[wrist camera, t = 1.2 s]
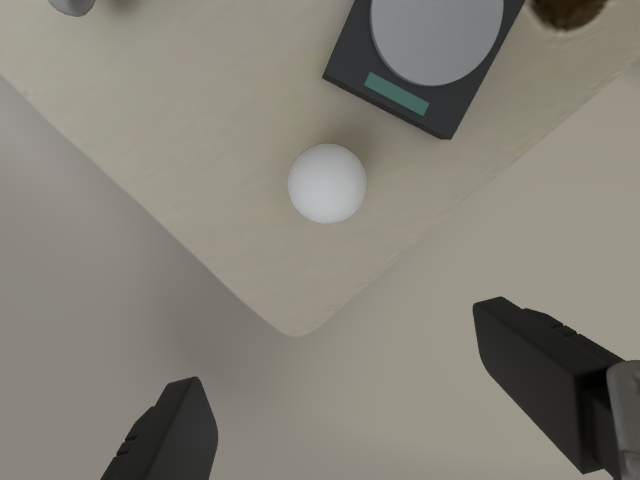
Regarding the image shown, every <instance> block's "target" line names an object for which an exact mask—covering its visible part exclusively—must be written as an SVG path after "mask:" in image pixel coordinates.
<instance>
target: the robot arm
mask: <svg viewBox="0 0 640 480" xmlns="http://www.w3.org/2000/svg"><path fill="white" fill-rule="evenodd" d="M473 316H474V322H475V329H476V336H477V342H478V347H479V353H480V357H481V360H482V362H483V365H484V367H485V368H486V370H487V371H488V373H489V374H490V376H491V377H492V378H493V379H494V380H495V381H496V382H497V383H498V384H499V385H500V386H501V387H502V388H503V389H504V390H505V392H506V393H507V394H508V395H509V396H510V397H511V398H512V399H513V400H514V401H515V402H516V403H517V404H518V405H519V407H520V408H521V409H522V410H523V411H524V412H525V413H526V414H527V415H528V416H529V417H530V418H531V419H532V421H533V422H534V423H535V424H536V425H537V426H538V427H539V428H540V429H541V430H542V431H543V432H544V433H545V435H546V436H548V438H549V439H550V440H551V441H552V442H553V443H554V444H555V445H556V446H557V447H558V449H559V450H560V451H561V452H562V453H563V454H564V455H565V456H566V457H567V458H568V459H569V460H570V461H571V462H572V464H574V466H575V467H576V468H577V469H578V470H579V471H580V472H581V473H582V474H586V473H590V472H594V471H597V470H600V469H605V470H606V471H607V472H608V473H609V474H610V475H611V476H612V477H613V480H640V360H631V361H625V360H623V359H622V358H620V357H618V356H617V355H615V354H613V353H611V352H610V351H608V350H607V349H605V348H603V347H601V346H600V345H598V344H596V343H595V342H593V341H591V340H590V339H588V338H586V337H585V336H583V335H581V334H577V333H576V331H574V330H573V329H571V328H569V327H568V326H563V323H561V322H559V321H558V320H556V319H554V318H553V317H551V316H549V315H548V314H545V313H541V312H538V311H534V310H531V309H527V308H525V309H521V308H520V307H518V306H516V305H515V304H513V303H512V302H510V301H509V300H507V299H505V298H503V297H496V298H493V299H489V300H485V301H481V302H477V303H475V304H474V305H473ZM217 445H218V430H217V425H216V421H215V418H214V416H213V413H212V410H211V408H210V405H209V402H208V399H207V397H206V394H205V391H204V388H203V386H202V383H201V381H200V380H199V378H198V377H191V378H187V379H183V380H179V381H176V382H172V383H169V384H168V385H167V386H166V387H165V389H164V391H163V393H162V394H161V396H160V398H159V399H158V401H157V403H156V405H155V406H153V407H151V408H149V409H148V410H147V411H146V412H145V414H143V416H141V417H140V418H139V419H138V420H137V421H136V422H135V424H134V425H133V427H132V428H131V430H130V432H129V433H128V435H127V437H126V439H125V442H124V443H122V445H121V447H120V448H119V450H118V452H117V456H116V457H114V458H113V460H112V461H111V463H110V465H109V466H108V468H107V470H106V471H105V473H104V474H103V476H102V478H101V479H100V480H208V479H209V476H210V472H211V468H212V464H213V461H214V457H215V453H216V450H217Z"/></svg>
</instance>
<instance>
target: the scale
mask: <svg viewBox="0 0 640 480" xmlns="http://www.w3.org/2000/svg"><path fill="white" fill-rule="evenodd" d="M524 2H525V0H355V1H354V4H353V6H352V8H351V11H350V13H349V15H348V18H347V20H346V22H345V25H344V27H343V29H342V32H341V34H340V36H339V39H338V41H337V44H336V46H335V48H334V51H333V53H332V55H331V58H330V60H329V62H328V65H327V67H326V69H325V72H324V74H323V76H322V78H323V79H325V80H327V81H329V82H331V83H333V84H335V85H337V86H338V87H340V88H342V89H344V90H346V91H348V92H350V93H352V94H354V95H356V96H358V97H360V98H362V99H364V100H366V101H367V102H369V103H371V104H373V105H375V106H377V107H379V108H381V109H383V110H385V111H387V112H389V113H391V114H393V115H395V116H396V117H398V118H400V119H402V120H404V121H406V122H408V123H410V124H412V125H414V126H416V127H418V128H420V129H422V130H424V131H425V132H427V133H429V134H431V135H433V136H435V137H437V138H439V139H448V140H451V139H452V137H453V135H454V133H455V131H456V130H457V128H458V126H459V124H460V122H461V120H462V118H463V116H464V115H465V113H466V111H467V109H468V107H469V105H470V103H471V101H472V100H473V98H474V96H475V94H476V92H477V90H478V88H479V86H480V85H481V83H482V81H483V79H484V77H485V75H486V73H487V71H488V70H489V68H490V66H491V64H492V62H493V60H494V58H495V56H496V55H497V53H498V51H499V49H500V47H501V45H502V43H503V42H504V40H505V38H506V36H507V34H508V32H509V30H510V28H511V27H512V25H513V23H514V21H515V19H516V17H517V15H518V13H519V12H520V10H521V8H522V6H523V4H524Z"/></svg>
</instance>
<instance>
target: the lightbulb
mask: <svg viewBox="0 0 640 480" xmlns="http://www.w3.org/2000/svg"><path fill="white" fill-rule="evenodd" d="M366 189H367V179H366V173H365V170H364V167H363V165H362V163H361V162H360V160H359V159H358V157H357V156H356V155H355V154H354V153H353V152H351V151H350V150H348V149H347V148H345V147H342V146H340V145H336V144H319V145H315V146H312V147H310V148H308V149H306V150H305V151H304V152H302V153H301V154H300V155H299V156H298V157H297V158H296V159H295V161H294V163H293V164H292V166H291V169H290V171H289V175H288V193H289V197H290V199H291V201H292V204H293V205H294V207H295V208H296V209H297V211H298V212H300V213H301V214H302V215H303V216H304V217H306V218H308V219H309V220H312V221H314V222H317V223H323V224H332V223H337V222H340V221H343V220H345V219H347V218H348V217H350V216H351V215H353V214H354V213H355V212H356V211H357V210H358V208H359V207H360V205H361V204H362V202H363V200H364V197H365V194H366Z"/></svg>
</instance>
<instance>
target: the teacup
mask: <svg viewBox="0 0 640 480" xmlns="http://www.w3.org/2000/svg"><path fill="white" fill-rule="evenodd" d="M48 1H49V2H50V4H51V5H52V6H53V7H54V8H55V9H56V10H58V11H59V12H61V13H64V14H66V15H70V16H75V17H79V16H83V15H85V14H87V13H88V12H89V11H90V9H91V8H92V7H93V5H94V3H95V1H96V0H48Z"/></svg>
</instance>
